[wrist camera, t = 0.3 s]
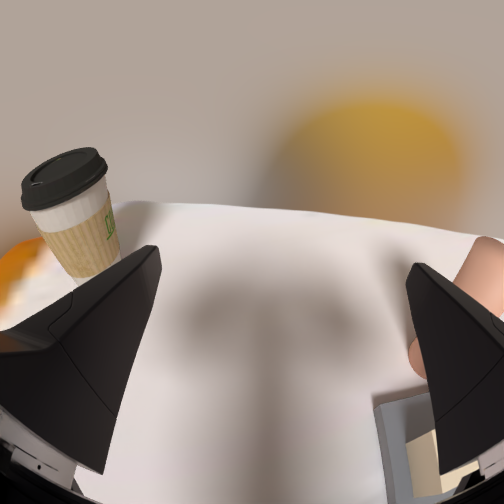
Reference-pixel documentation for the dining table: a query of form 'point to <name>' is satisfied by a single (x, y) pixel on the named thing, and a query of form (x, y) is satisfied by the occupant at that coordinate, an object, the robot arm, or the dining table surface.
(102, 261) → the coffee cup
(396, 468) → the base plate
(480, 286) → the pillar
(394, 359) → the dining table surface
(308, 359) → the dining table surface
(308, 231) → the dining table surface
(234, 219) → the dining table surface
